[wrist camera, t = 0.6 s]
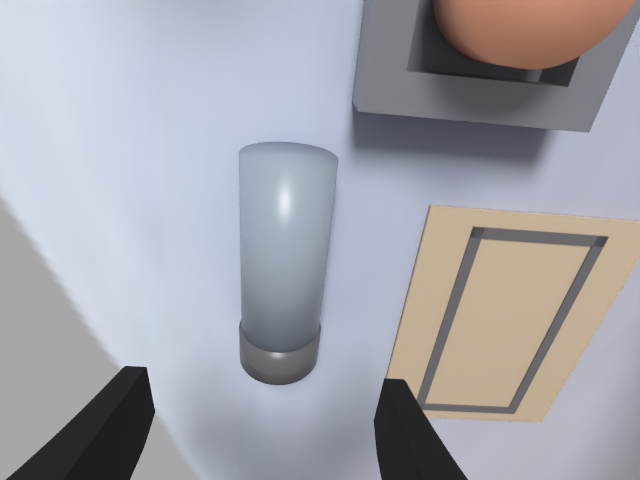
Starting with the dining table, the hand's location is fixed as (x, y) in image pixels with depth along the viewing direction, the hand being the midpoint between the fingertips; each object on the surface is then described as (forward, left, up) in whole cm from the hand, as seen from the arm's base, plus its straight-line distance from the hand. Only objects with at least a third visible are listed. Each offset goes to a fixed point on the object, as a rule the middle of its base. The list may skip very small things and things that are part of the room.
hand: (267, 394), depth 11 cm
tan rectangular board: (-13, +5, -9) cm, 17 cm away
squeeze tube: (0, 0, -9) cm, 9 cm away
